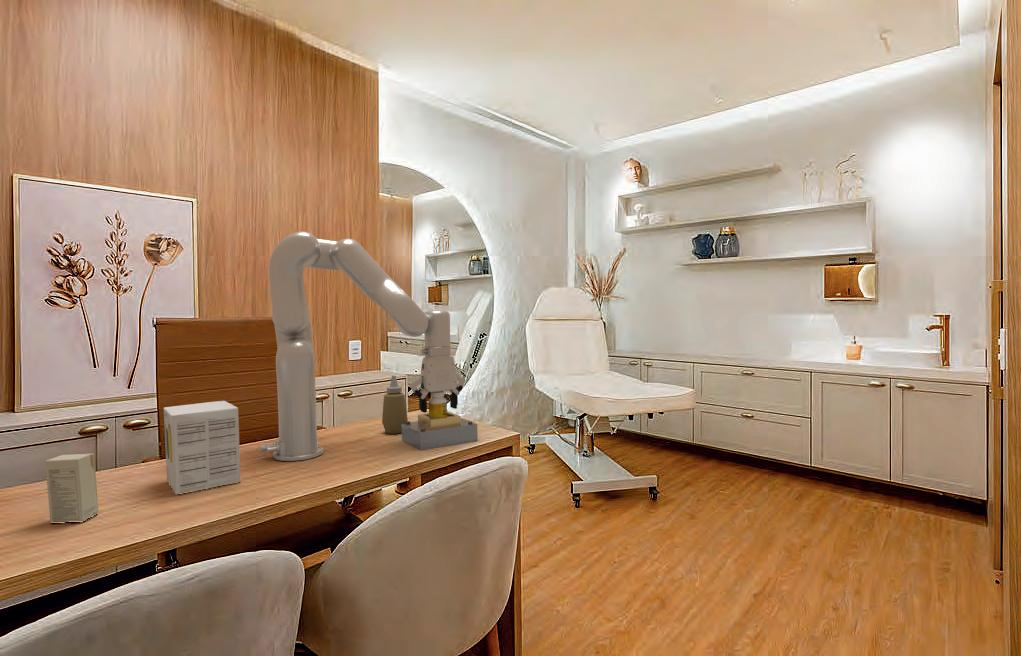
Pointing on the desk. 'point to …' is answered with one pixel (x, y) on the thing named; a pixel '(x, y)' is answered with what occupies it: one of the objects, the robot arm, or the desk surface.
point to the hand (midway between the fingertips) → (438, 409)
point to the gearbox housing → (438, 431)
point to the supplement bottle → (437, 405)
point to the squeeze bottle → (394, 408)
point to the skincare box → (72, 487)
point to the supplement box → (201, 445)
